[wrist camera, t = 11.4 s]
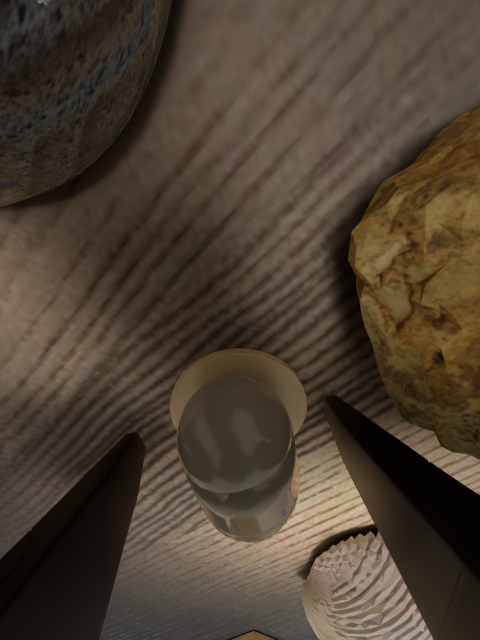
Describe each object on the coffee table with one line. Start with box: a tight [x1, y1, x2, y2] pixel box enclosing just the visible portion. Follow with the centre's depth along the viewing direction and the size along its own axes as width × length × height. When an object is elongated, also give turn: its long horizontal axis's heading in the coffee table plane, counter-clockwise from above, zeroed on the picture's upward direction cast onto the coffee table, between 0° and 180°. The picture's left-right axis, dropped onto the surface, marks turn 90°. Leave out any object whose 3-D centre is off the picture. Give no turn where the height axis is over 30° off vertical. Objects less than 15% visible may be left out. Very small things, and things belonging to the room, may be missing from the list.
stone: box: [177, 374, 300, 542], centre depth 8 cm, size 6×4×4 cm, turn 12°
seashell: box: [301, 531, 433, 640], centre depth 14 cm, size 10×6×10 cm
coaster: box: [170, 348, 307, 436], centre depth 10 cm, size 6×6×1 cm
